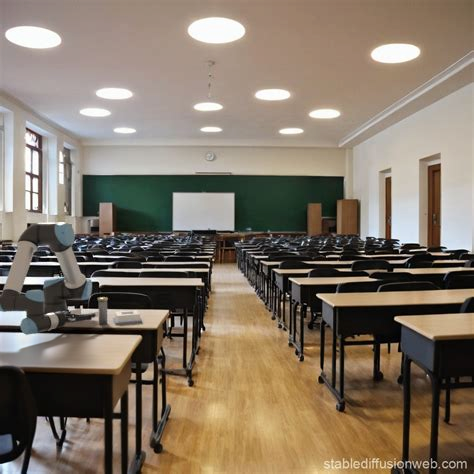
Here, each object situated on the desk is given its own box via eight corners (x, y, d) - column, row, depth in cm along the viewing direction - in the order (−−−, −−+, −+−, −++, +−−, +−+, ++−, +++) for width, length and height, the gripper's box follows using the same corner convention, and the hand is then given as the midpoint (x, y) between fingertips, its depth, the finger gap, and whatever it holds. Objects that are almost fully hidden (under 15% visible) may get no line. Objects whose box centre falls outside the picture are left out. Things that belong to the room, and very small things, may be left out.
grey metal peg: (97, 323, 237) (97, 297, 237) (107, 322, 239) (107, 296, 239) (98, 325, 232) (97, 299, 232) (108, 324, 234) (107, 298, 234)
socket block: (113, 319, 246) (113, 311, 246) (138, 317, 251) (138, 309, 251) (115, 324, 233) (115, 316, 233) (142, 322, 238) (142, 314, 238)
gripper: (37, 325, 216) (73, 317, 234) (71, 331, 203) (106, 322, 221) (37, 310, 215) (73, 303, 234) (71, 315, 203) (106, 307, 221)
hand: (89, 312), depth 228 cm, fingers open, 13 cm apart
